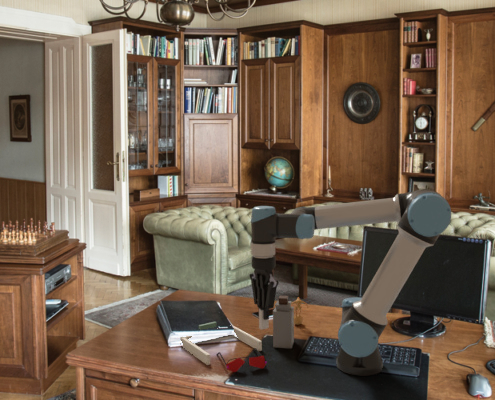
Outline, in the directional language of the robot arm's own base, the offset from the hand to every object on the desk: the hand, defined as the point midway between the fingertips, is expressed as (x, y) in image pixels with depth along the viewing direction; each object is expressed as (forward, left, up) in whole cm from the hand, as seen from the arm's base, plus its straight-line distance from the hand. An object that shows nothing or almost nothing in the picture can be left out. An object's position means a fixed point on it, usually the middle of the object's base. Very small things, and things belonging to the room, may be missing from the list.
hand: (263, 328), depth 177 cm
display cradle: (+28, 0, -16) cm, 32 cm away
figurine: (+31, -38, -16) cm, 52 cm away
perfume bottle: (+18, -21, -16) cm, 32 cm away
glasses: (+14, 0, -17) cm, 22 cm away
